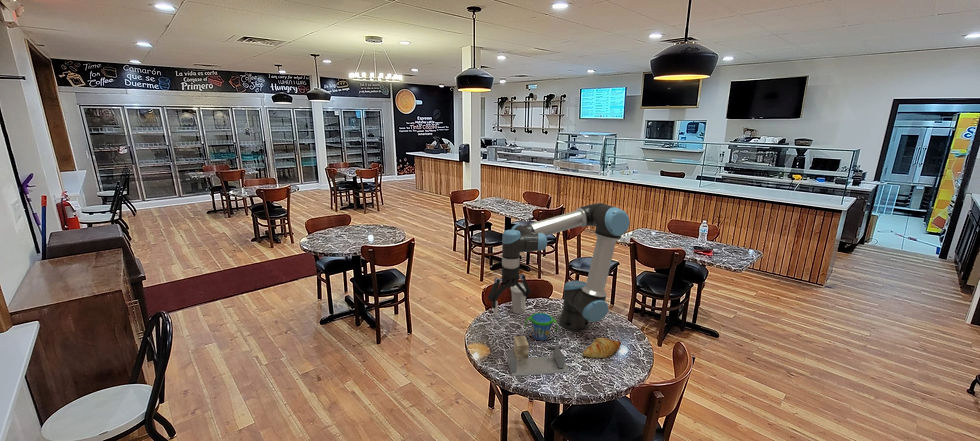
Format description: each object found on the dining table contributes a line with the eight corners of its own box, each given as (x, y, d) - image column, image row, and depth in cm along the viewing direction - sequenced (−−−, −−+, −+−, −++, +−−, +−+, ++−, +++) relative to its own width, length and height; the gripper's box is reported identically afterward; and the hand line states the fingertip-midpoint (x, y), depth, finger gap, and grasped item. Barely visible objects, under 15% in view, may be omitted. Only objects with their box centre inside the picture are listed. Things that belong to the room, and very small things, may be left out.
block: (524, 349, 185) (524, 335, 183) (528, 359, 177) (528, 345, 176) (513, 350, 184) (513, 336, 183) (517, 360, 177) (517, 346, 175)
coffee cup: (530, 311, 223) (531, 285, 219) (519, 316, 216) (520, 290, 212) (517, 305, 229) (518, 280, 225) (506, 311, 222) (506, 285, 219)
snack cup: (557, 333, 200) (559, 314, 197) (556, 344, 190) (557, 324, 187) (526, 329, 203) (527, 310, 200) (523, 340, 193) (523, 320, 190)
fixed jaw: (512, 359, 175) (512, 349, 173) (516, 371, 166) (516, 361, 165) (507, 359, 174) (507, 349, 173) (511, 372, 166) (512, 361, 164)
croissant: (586, 368, 178) (593, 358, 173) (574, 348, 184) (580, 338, 179) (623, 355, 187) (630, 345, 182) (610, 337, 194) (617, 327, 189)
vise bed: (561, 358, 178) (561, 355, 178) (568, 372, 169) (568, 368, 169) (507, 362, 175) (507, 359, 175) (511, 376, 165) (511, 373, 165)
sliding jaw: (560, 352, 180) (560, 342, 178) (568, 367, 169) (569, 356, 168) (546, 353, 179) (547, 343, 178) (554, 368, 168) (555, 357, 167)
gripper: (531, 259, 182) (529, 303, 187) (480, 267, 172) (479, 312, 177) (540, 265, 175) (538, 310, 181) (487, 273, 165) (486, 320, 170)
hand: (509, 311), depth 179 cm, fingers open, 13 cm apart
